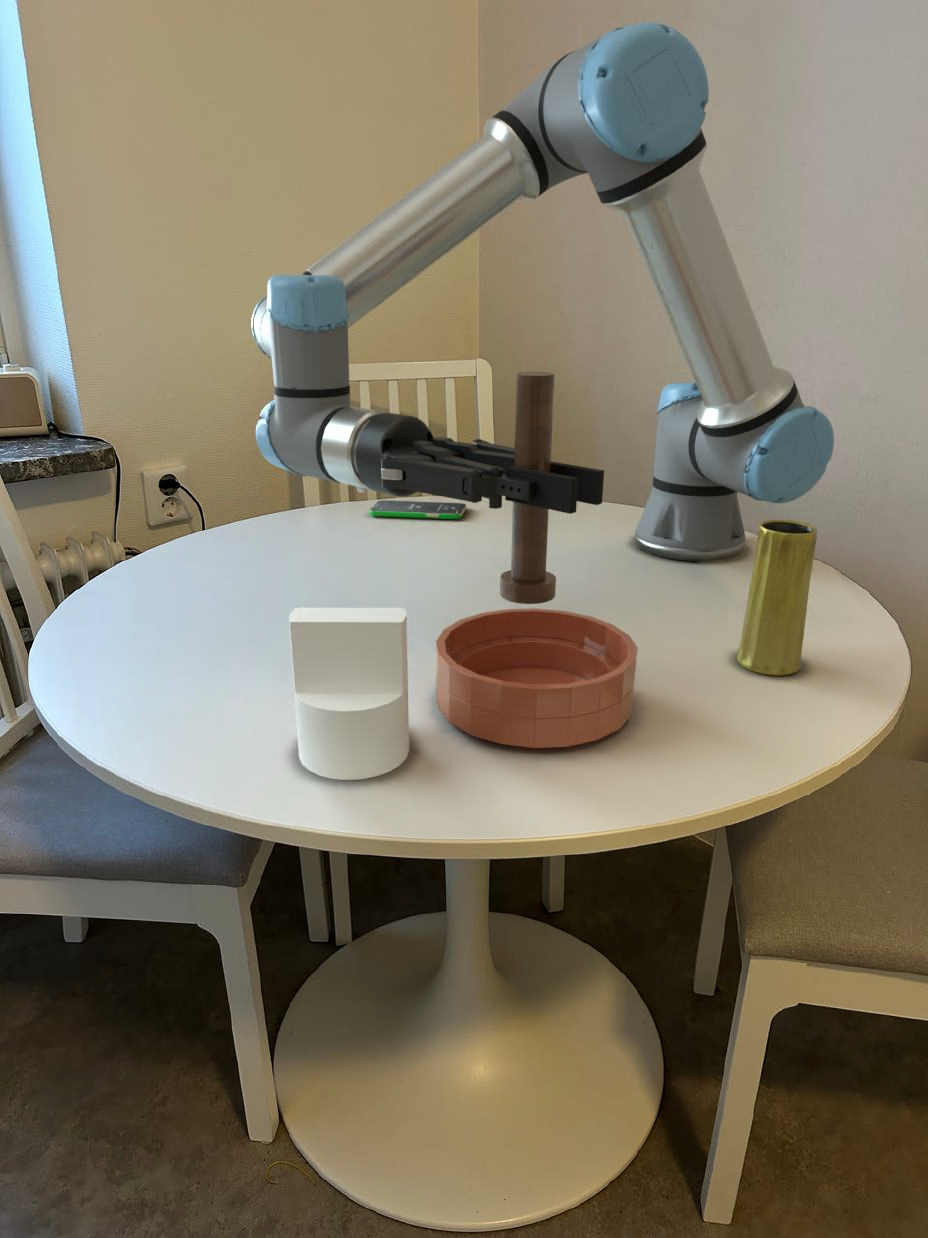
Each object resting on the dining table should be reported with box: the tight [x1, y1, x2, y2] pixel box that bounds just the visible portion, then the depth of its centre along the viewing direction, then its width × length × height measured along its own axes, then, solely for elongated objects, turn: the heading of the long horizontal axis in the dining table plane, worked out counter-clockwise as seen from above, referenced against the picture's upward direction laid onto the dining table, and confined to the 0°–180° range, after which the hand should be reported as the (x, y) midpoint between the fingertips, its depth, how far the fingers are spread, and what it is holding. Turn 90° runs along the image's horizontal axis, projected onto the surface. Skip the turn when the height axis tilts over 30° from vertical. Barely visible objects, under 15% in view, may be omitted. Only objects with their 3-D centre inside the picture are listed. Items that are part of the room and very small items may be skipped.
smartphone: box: [368, 499, 467, 520], centre depth 142 cm, size 8×1×15 cm
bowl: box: [435, 607, 638, 749], centre depth 78 cm, size 18×18×6 cm
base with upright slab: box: [288, 607, 410, 781], centre depth 70 cm, size 9×9×12 cm
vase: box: [736, 519, 818, 677], centre depth 85 cm, size 6×6×14 cm
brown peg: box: [499, 371, 557, 605], centre depth 72 cm, size 5×5×19 cm
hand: (587, 491), depth 69 cm, fingers closed on brown peg, 3 cm apart
